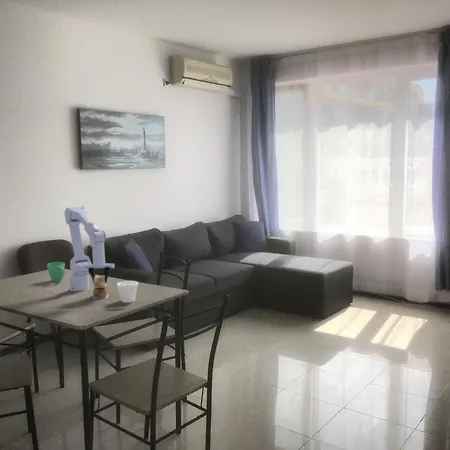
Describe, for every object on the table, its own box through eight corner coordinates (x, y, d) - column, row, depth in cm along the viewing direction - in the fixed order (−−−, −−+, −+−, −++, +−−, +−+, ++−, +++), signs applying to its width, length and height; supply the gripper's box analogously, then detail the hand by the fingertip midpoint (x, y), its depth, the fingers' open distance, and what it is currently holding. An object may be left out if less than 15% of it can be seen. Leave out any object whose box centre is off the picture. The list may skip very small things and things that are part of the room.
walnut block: (93, 298, 251) (93, 290, 251) (96, 294, 257) (95, 287, 257) (105, 297, 251) (105, 289, 251) (108, 294, 257) (107, 286, 257)
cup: (118, 305, 239) (117, 286, 238) (117, 300, 248) (116, 281, 247) (140, 303, 241) (139, 284, 240) (137, 298, 251) (136, 280, 250)
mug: (45, 280, 294) (44, 263, 293) (61, 277, 301) (60, 261, 299) (55, 285, 283) (54, 267, 282) (72, 282, 289) (71, 264, 288)
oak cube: (94, 288, 251) (94, 278, 251) (96, 285, 256) (96, 275, 256) (104, 287, 252) (104, 277, 251) (106, 285, 257) (106, 275, 256)
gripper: (81, 257, 247) (83, 285, 249) (112, 256, 248) (113, 284, 250) (85, 255, 254) (86, 281, 256) (114, 254, 255) (116, 280, 257)
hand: (100, 282), depth 253 cm, fingers closed on oak cube, 5 cm apart
